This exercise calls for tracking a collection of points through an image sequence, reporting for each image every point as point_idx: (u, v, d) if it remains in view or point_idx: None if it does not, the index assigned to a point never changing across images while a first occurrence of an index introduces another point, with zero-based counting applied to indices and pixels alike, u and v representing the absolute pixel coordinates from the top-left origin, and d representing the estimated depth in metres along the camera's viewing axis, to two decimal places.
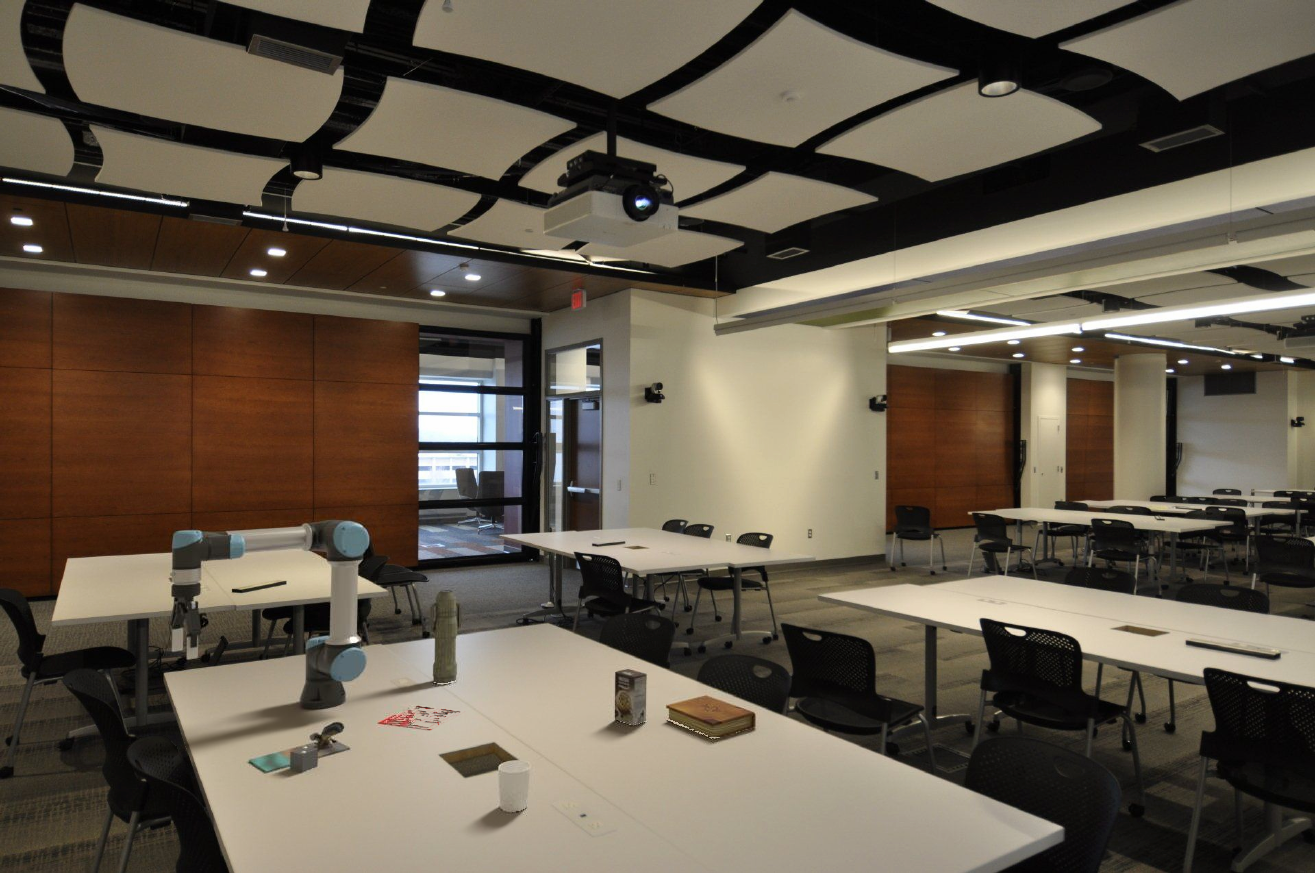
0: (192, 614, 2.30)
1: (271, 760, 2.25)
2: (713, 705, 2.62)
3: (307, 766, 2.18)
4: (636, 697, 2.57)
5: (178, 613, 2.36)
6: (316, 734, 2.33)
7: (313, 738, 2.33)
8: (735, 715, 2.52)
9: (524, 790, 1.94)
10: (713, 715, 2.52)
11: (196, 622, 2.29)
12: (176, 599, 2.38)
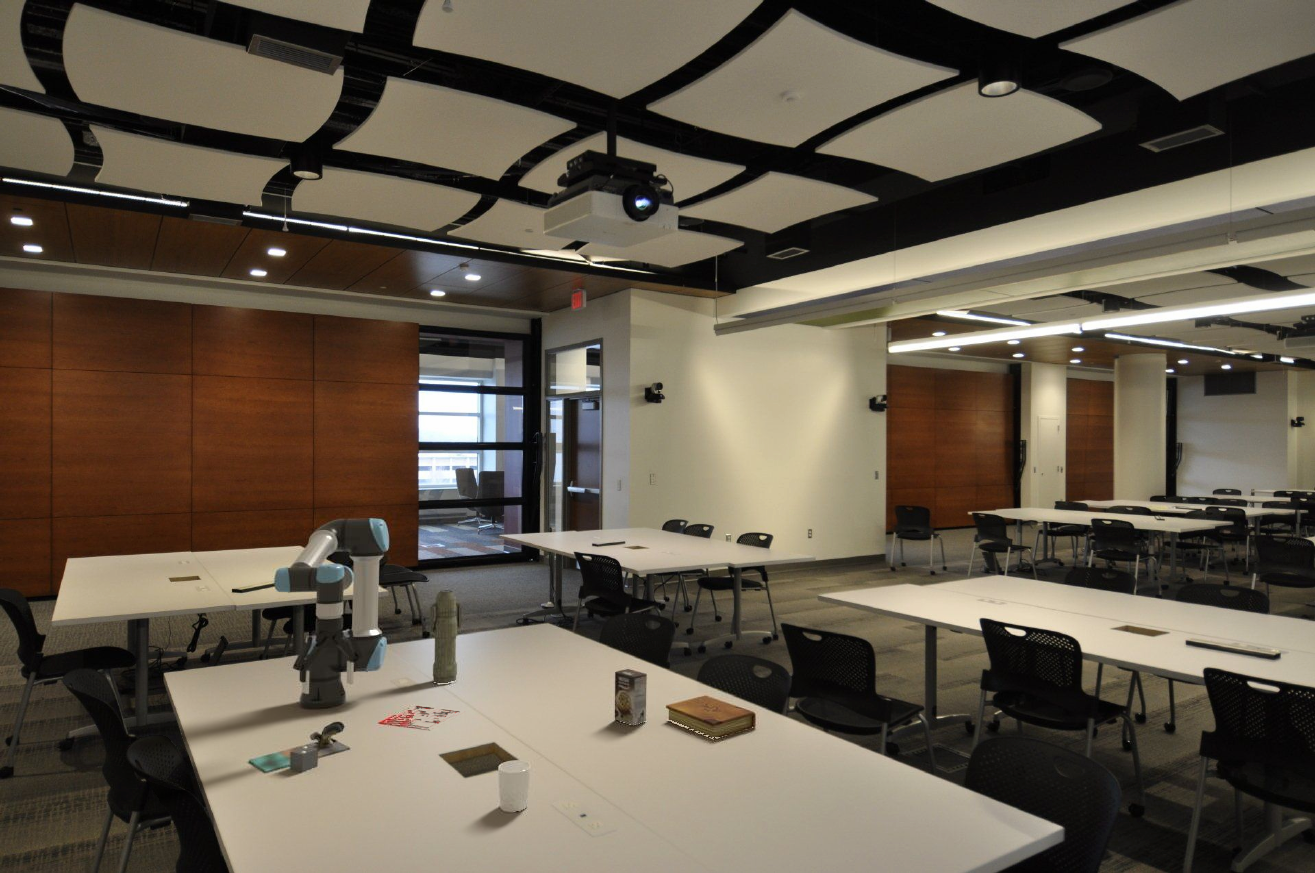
0: (302, 648, 2.31)
1: (271, 760, 2.25)
2: (712, 705, 2.62)
3: (307, 766, 2.18)
4: (636, 697, 2.57)
5: (337, 645, 2.39)
6: (316, 734, 2.33)
7: (313, 738, 2.34)
8: (735, 715, 2.52)
9: (524, 790, 1.94)
10: (713, 715, 2.52)
11: (300, 657, 2.30)
12: None
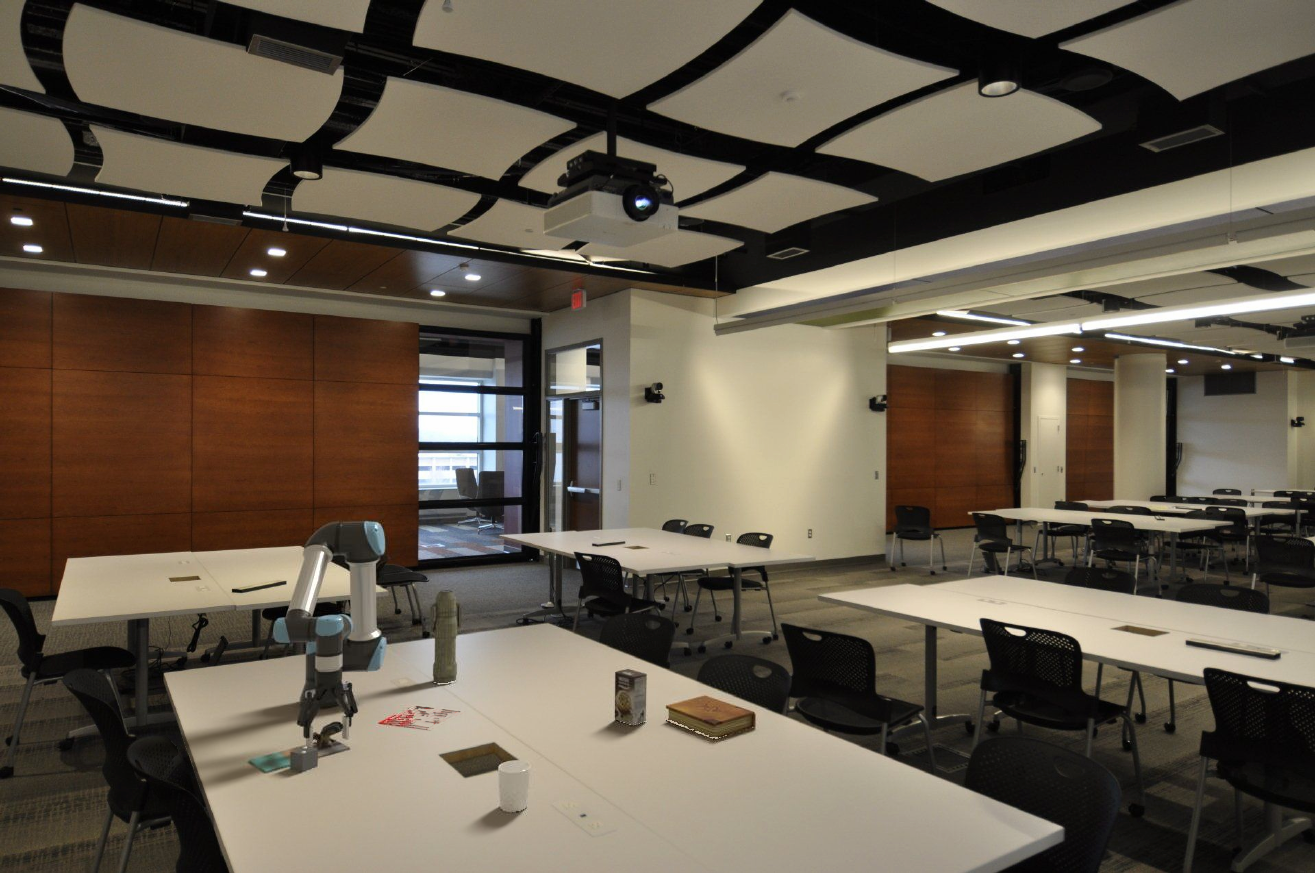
0: (303, 704, 2.31)
1: (271, 760, 2.25)
2: (712, 705, 2.62)
3: (307, 766, 2.18)
4: (636, 697, 2.57)
5: None
6: (315, 734, 2.33)
7: None
8: (735, 715, 2.52)
9: (524, 790, 1.94)
10: (714, 715, 2.52)
11: (302, 713, 2.30)
12: None
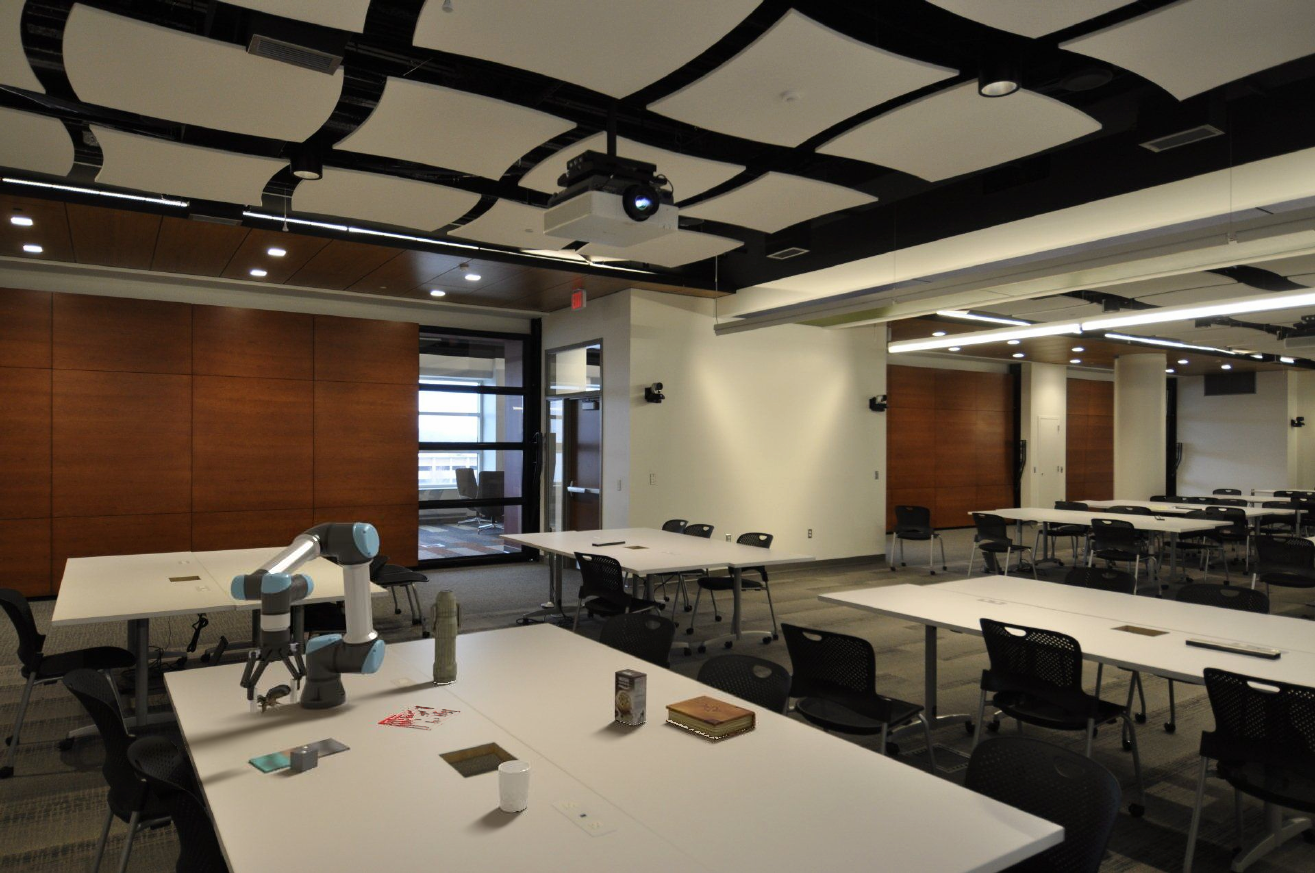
0: (247, 664, 2.20)
1: (271, 760, 2.25)
2: (712, 705, 2.62)
3: (307, 766, 2.18)
4: (636, 697, 2.57)
5: None
6: (260, 696, 2.22)
7: (257, 700, 2.22)
8: (736, 714, 2.52)
9: (524, 790, 1.94)
10: (714, 715, 2.52)
11: (245, 674, 2.18)
12: None
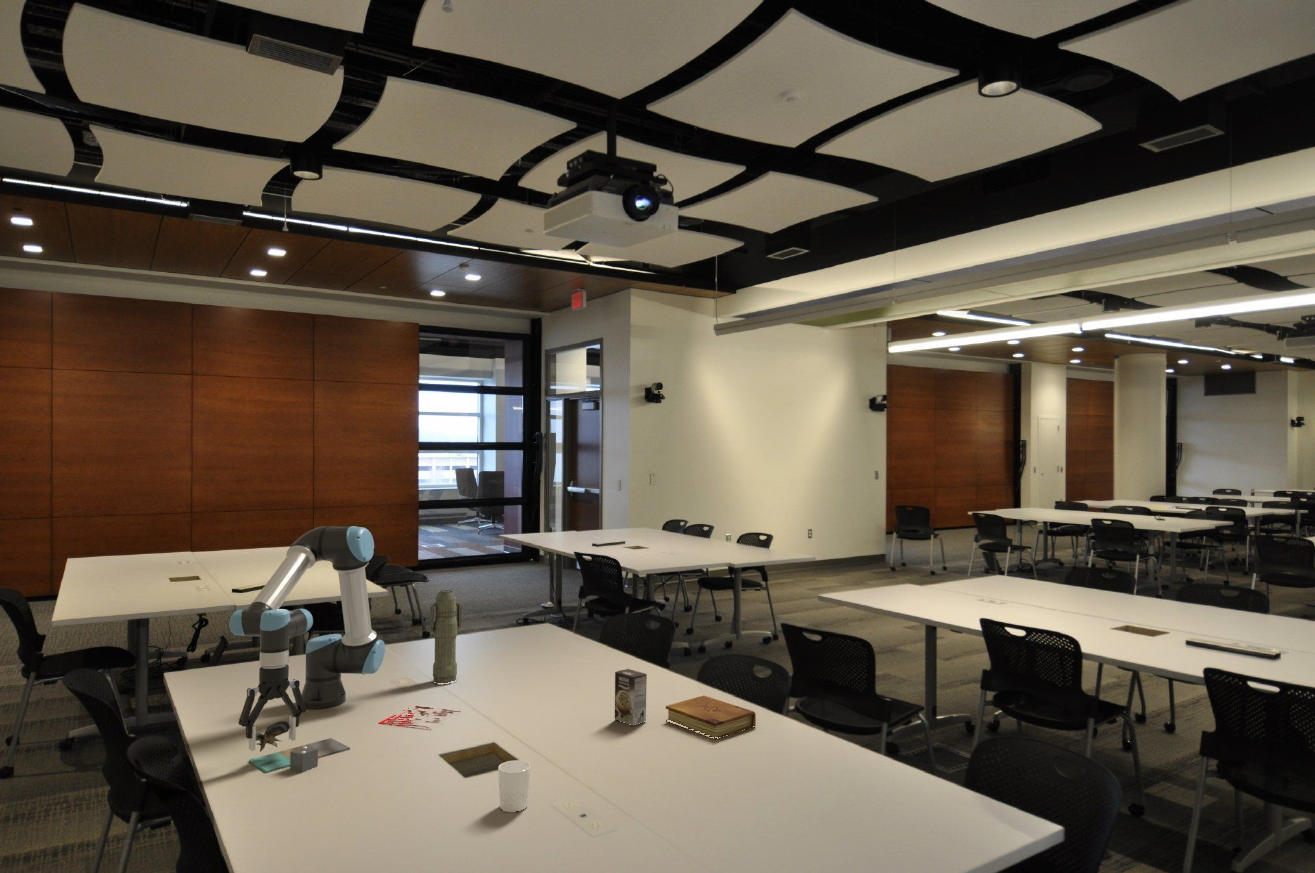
0: (246, 702, 2.19)
1: (271, 760, 2.25)
2: (712, 705, 2.62)
3: (307, 766, 2.18)
4: (636, 697, 2.57)
5: None
6: (259, 734, 2.21)
7: None
8: (736, 714, 2.53)
9: (524, 790, 1.94)
10: (714, 715, 2.52)
11: (244, 712, 2.18)
12: None
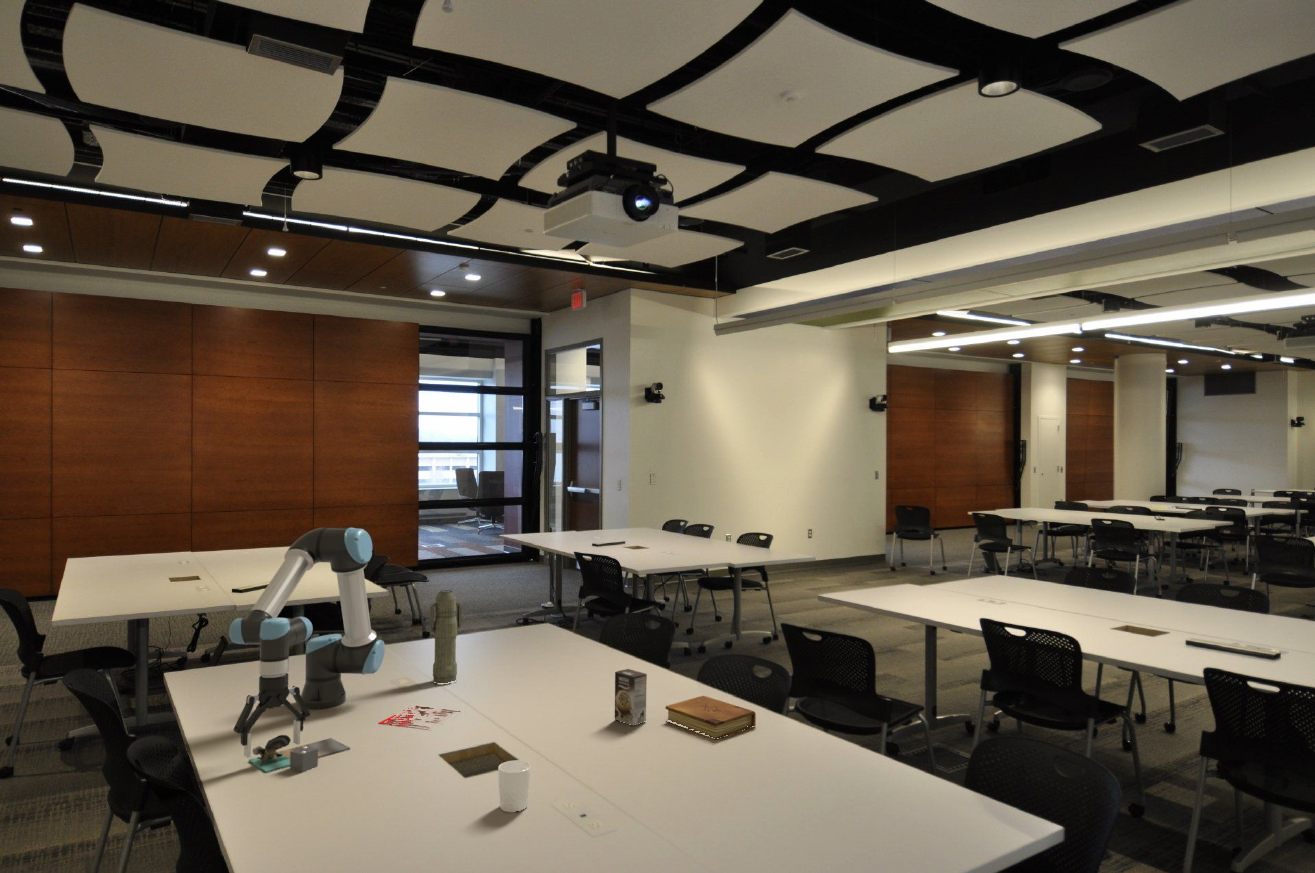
0: (244, 709, 2.19)
1: (271, 760, 2.25)
2: (712, 705, 2.62)
3: (307, 766, 2.18)
4: (636, 697, 2.57)
5: (282, 704, 2.27)
6: (259, 748, 2.21)
7: (256, 752, 2.22)
8: (736, 714, 2.53)
9: (524, 790, 1.94)
10: (714, 715, 2.52)
11: (240, 719, 2.17)
12: None
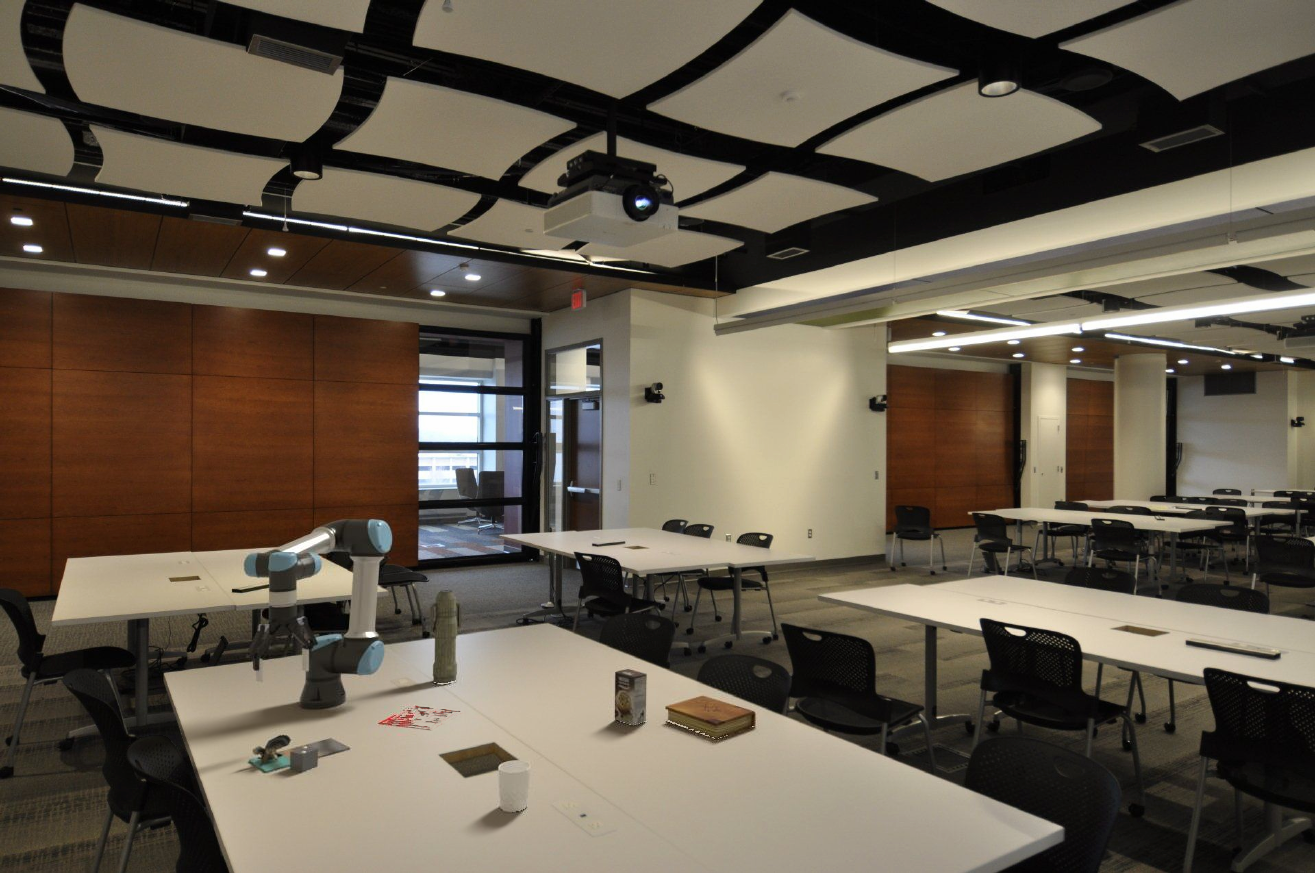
0: (255, 636, 2.30)
1: (271, 760, 2.25)
2: (712, 705, 2.62)
3: (307, 766, 2.18)
4: (636, 697, 2.57)
5: (291, 633, 2.38)
6: (259, 748, 2.22)
7: (256, 752, 2.22)
8: (736, 714, 2.53)
9: (524, 790, 1.94)
10: (714, 715, 2.52)
11: (252, 645, 2.29)
12: None
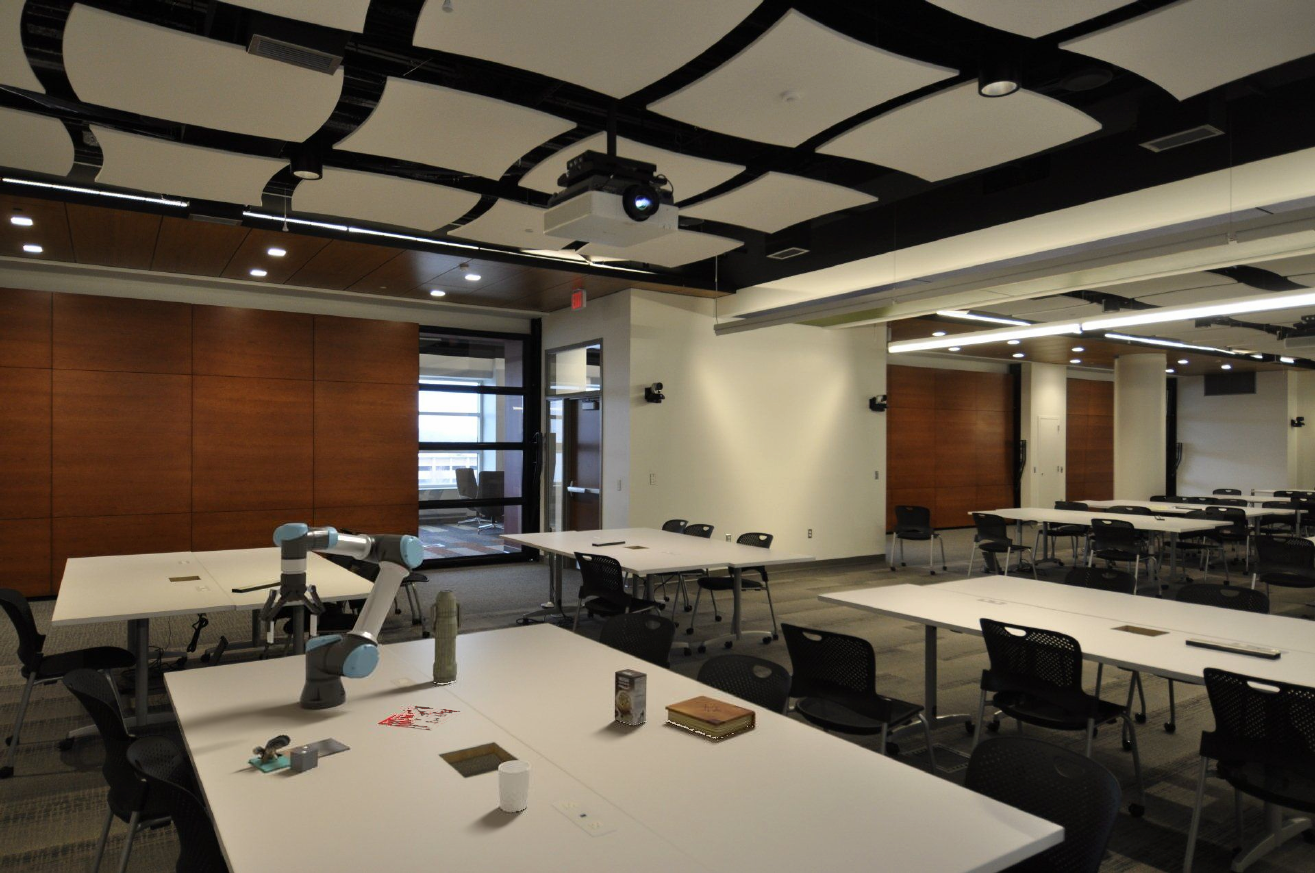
0: (267, 600, 2.47)
1: (271, 760, 2.25)
2: (712, 705, 2.62)
3: (307, 766, 2.18)
4: (636, 697, 2.57)
5: (300, 599, 2.55)
6: (259, 748, 2.22)
7: (256, 752, 2.22)
8: (736, 714, 2.53)
9: (524, 790, 1.94)
10: (715, 715, 2.52)
11: (264, 609, 2.46)
12: None
